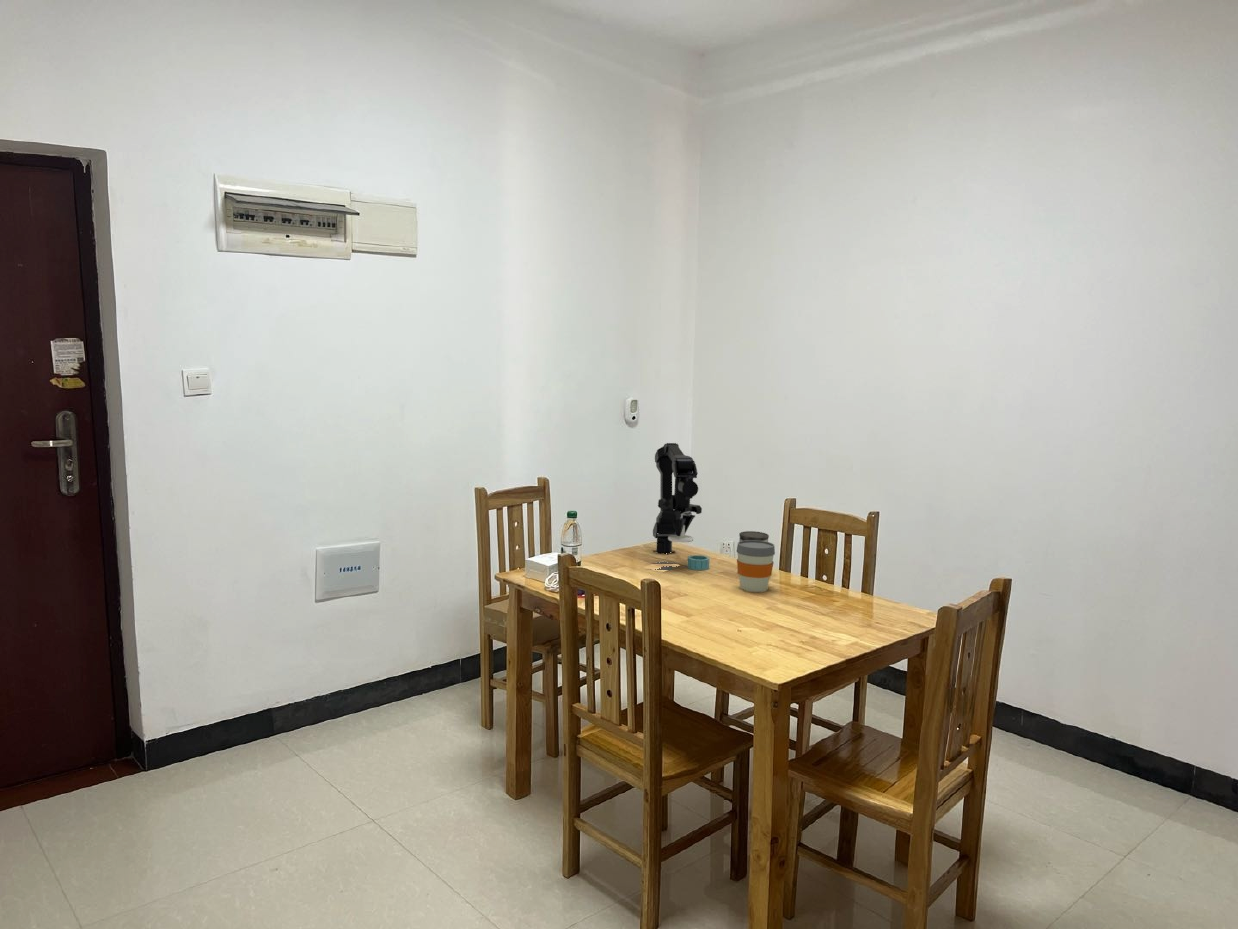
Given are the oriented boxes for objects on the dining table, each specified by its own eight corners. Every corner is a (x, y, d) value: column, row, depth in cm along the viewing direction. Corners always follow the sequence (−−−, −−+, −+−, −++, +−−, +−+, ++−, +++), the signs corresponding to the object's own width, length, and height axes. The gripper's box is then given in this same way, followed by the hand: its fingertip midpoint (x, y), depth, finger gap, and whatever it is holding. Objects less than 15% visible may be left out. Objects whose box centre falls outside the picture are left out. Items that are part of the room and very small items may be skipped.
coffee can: (748, 578, 299) (749, 538, 297) (732, 570, 308) (733, 532, 306) (772, 575, 303) (774, 536, 301) (756, 568, 312) (758, 530, 311)
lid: (676, 535, 314) (677, 521, 314) (697, 539, 309) (698, 525, 309) (663, 539, 307) (663, 525, 307) (684, 543, 302) (685, 528, 301)
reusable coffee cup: (771, 584, 291) (773, 541, 289) (774, 594, 279) (776, 549, 277) (734, 582, 293) (736, 539, 291) (735, 592, 280) (737, 547, 278)
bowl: (693, 564, 315) (694, 554, 315) (712, 568, 311) (713, 557, 310) (683, 568, 309) (683, 558, 308) (702, 572, 304) (702, 561, 304)
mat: (660, 561, 319) (660, 560, 318) (683, 565, 313) (683, 564, 313) (639, 568, 307) (639, 567, 307) (663, 573, 301) (663, 572, 301)
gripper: (677, 487, 318) (675, 528, 320) (649, 492, 303) (647, 536, 305) (703, 490, 312) (701, 532, 314) (675, 496, 297) (674, 541, 299)
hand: (680, 535), depth 308 cm, fingers closed on lid, 3 cm apart
